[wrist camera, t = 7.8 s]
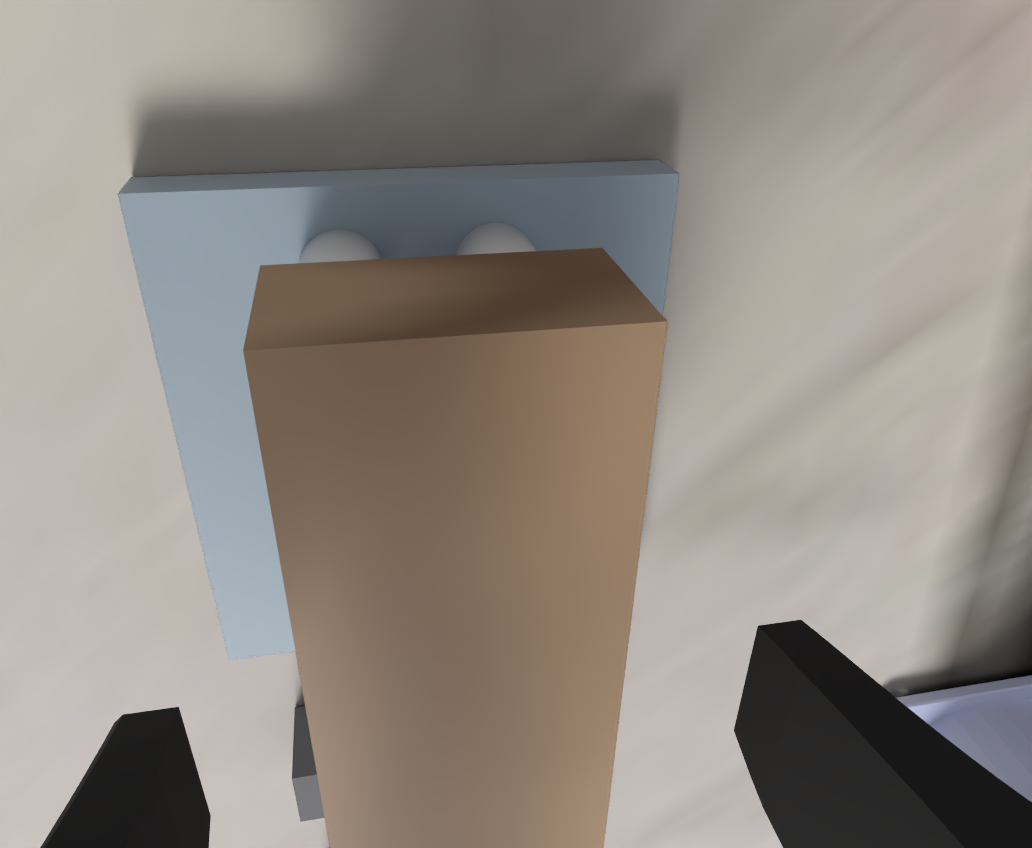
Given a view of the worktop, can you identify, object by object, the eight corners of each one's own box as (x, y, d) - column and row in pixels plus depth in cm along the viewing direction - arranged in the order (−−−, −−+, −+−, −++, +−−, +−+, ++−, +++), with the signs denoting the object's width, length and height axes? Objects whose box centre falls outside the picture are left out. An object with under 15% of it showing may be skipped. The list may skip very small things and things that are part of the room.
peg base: (659, 159, 15) (758, 226, 11) (615, 578, 20) (674, 710, 16) (130, 177, 13) (63, 261, 10) (233, 627, 18) (212, 783, 15)
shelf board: (602, 247, 11) (667, 321, 9) (567, 732, 16) (602, 851, 14) (260, 265, 10) (243, 351, 8) (337, 769, 15) (339, 901, 13)
